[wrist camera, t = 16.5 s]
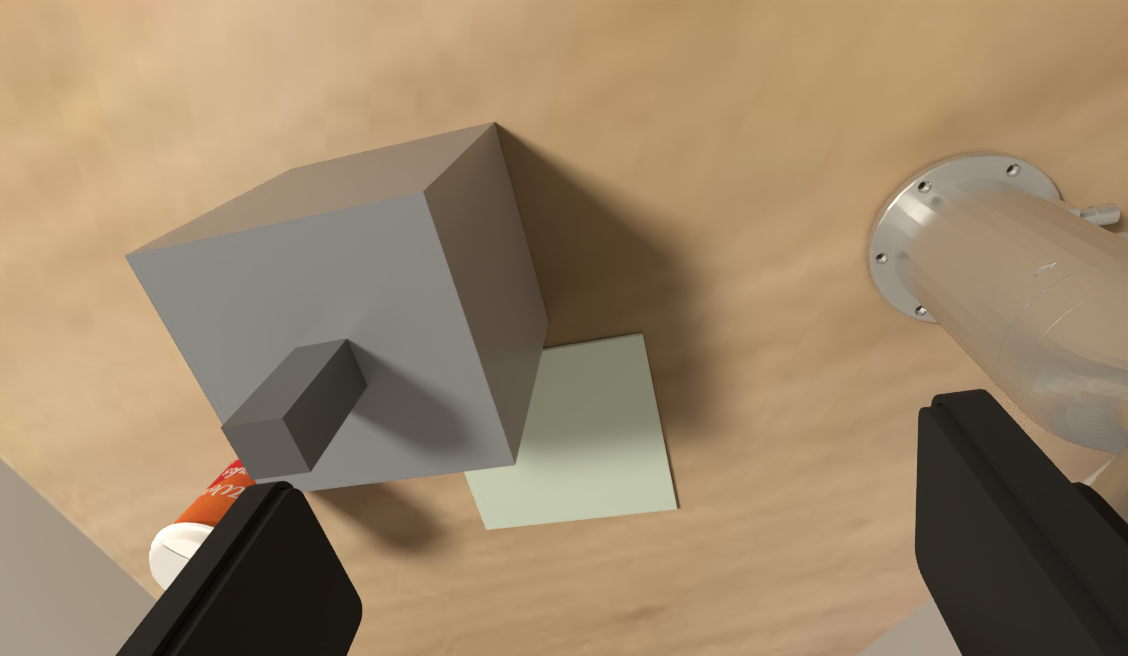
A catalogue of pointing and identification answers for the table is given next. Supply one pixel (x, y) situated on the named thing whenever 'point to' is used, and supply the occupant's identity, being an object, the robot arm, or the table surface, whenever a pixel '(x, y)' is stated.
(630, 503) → the mat
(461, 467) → the grey knobbed cube
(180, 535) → the coffee cup
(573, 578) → the table surface
